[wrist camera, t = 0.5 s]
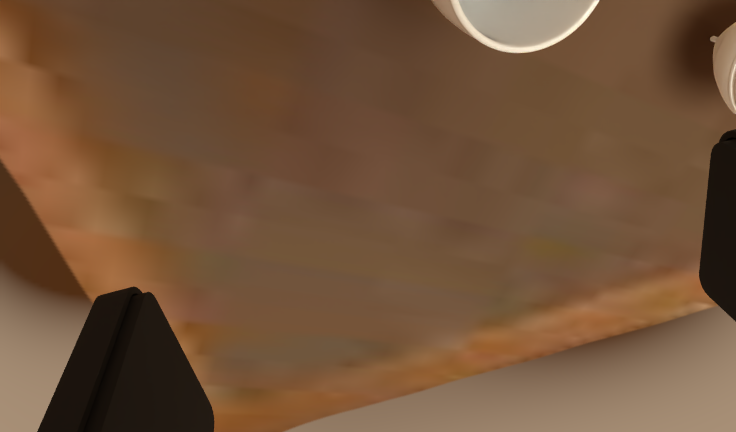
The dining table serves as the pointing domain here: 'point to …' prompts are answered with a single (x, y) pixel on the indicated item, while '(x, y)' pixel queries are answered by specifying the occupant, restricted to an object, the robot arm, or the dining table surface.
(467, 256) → the dining table surface
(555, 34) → the drinking glass
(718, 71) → the spinning top
